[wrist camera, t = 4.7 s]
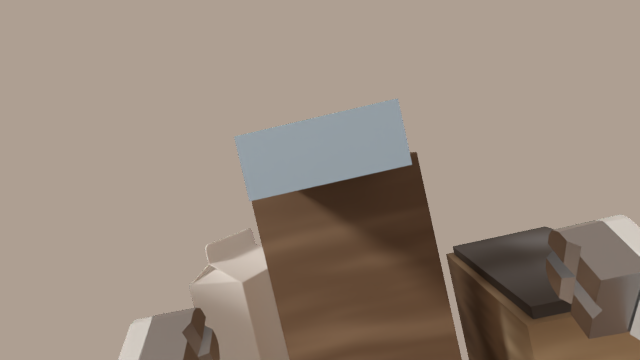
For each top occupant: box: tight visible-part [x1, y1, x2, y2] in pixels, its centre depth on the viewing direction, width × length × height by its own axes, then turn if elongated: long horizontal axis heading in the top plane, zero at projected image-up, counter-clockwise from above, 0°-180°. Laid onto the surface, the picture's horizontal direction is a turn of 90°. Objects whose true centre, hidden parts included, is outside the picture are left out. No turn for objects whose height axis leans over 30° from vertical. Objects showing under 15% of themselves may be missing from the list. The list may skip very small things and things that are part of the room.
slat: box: [234, 99, 412, 201], centre depth 23 cm, size 22×4×2 cm, turn 178°
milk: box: [189, 228, 289, 360], centre depth 38 cm, size 6×6×22 cm
